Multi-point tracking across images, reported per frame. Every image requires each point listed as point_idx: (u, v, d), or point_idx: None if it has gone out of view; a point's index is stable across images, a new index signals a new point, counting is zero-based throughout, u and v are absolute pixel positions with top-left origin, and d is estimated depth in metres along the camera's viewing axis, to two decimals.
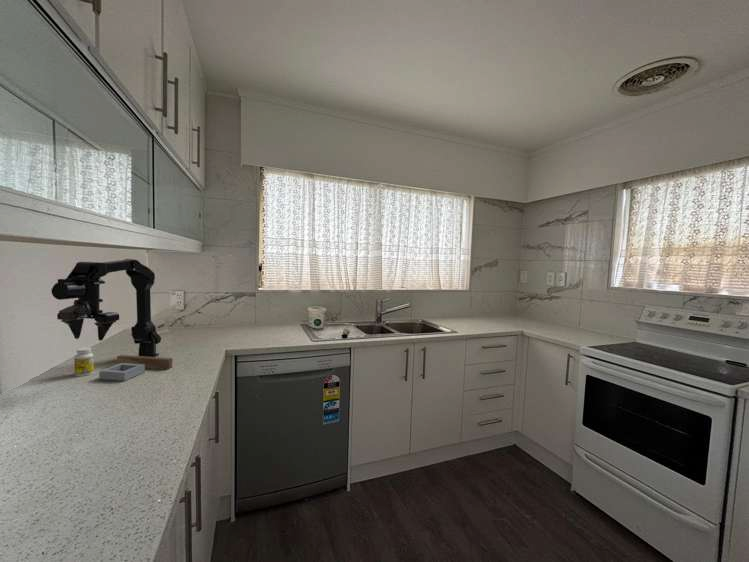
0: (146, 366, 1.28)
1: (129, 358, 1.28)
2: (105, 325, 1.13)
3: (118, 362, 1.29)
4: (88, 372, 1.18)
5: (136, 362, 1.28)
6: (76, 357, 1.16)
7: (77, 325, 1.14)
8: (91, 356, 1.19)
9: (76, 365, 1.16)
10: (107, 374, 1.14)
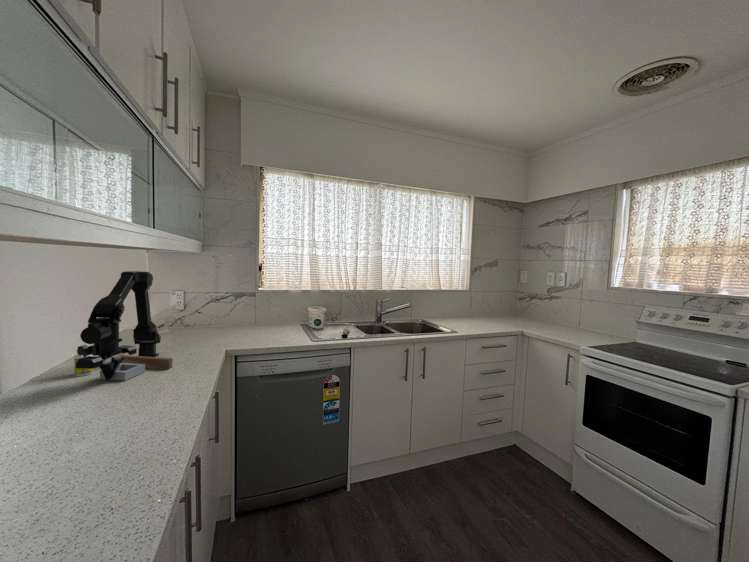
0: (146, 366, 1.28)
1: (129, 358, 1.28)
2: (106, 365, 1.11)
3: None
4: (88, 372, 1.18)
5: (136, 362, 1.28)
6: (76, 357, 1.16)
7: None
8: None
9: None
10: None
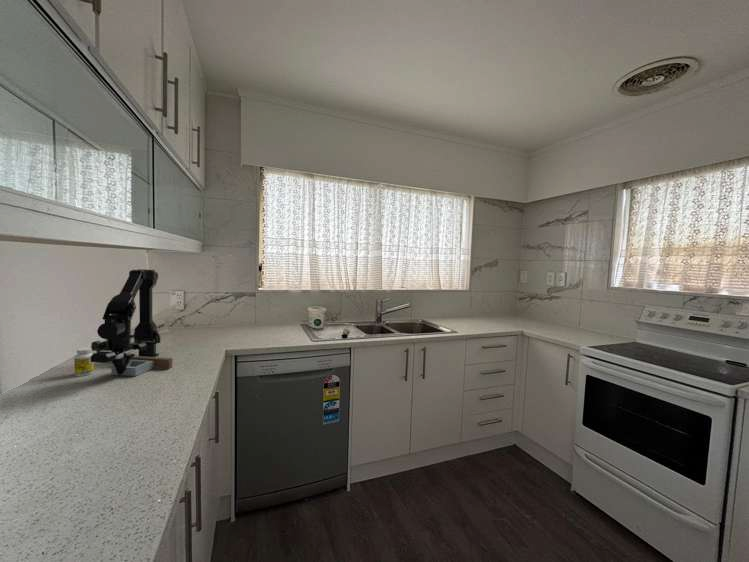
0: None
1: None
2: (118, 360, 1.16)
3: None
4: (88, 372, 1.18)
5: None
6: (76, 357, 1.16)
7: None
8: None
9: (76, 365, 1.16)
10: None
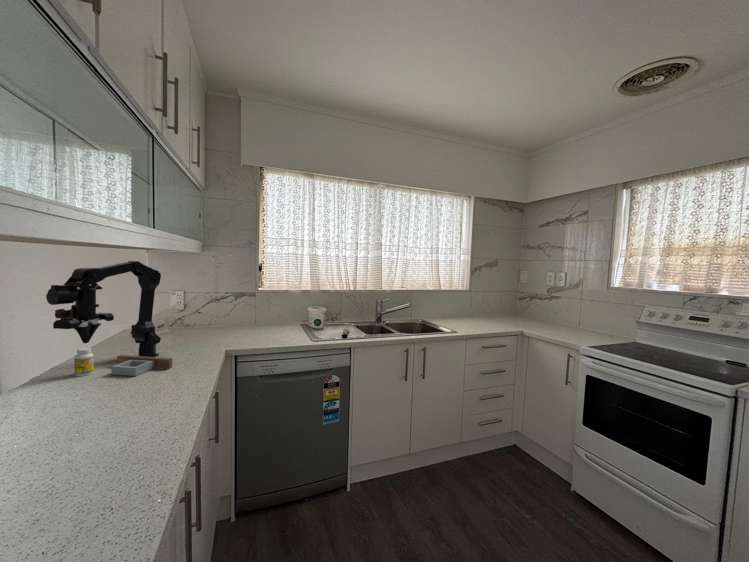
0: None
1: (129, 358, 1.28)
2: (83, 329, 1.16)
3: (118, 362, 1.29)
4: (88, 372, 1.18)
5: None
6: (76, 357, 1.16)
7: None
8: (91, 356, 1.19)
9: (76, 365, 1.16)
10: (118, 370, 1.19)
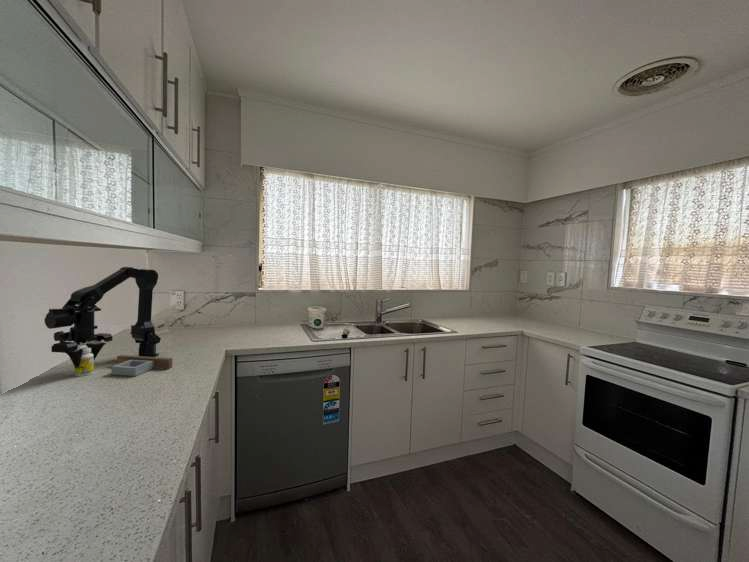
0: None
1: (129, 358, 1.28)
2: (74, 353, 1.14)
3: (118, 362, 1.29)
4: (88, 372, 1.18)
5: None
6: None
7: (92, 350, 1.22)
8: (91, 356, 1.19)
9: None
10: (118, 370, 1.19)
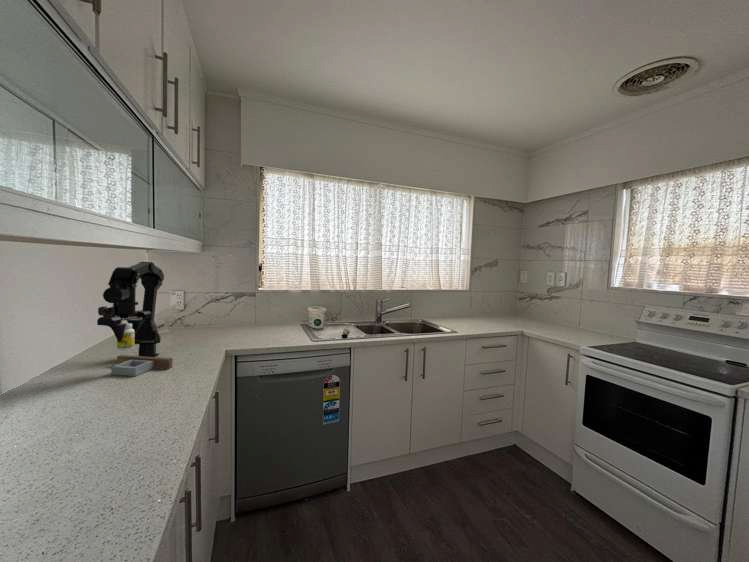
0: None
1: (129, 358, 1.28)
2: (118, 327, 1.18)
3: (118, 362, 1.29)
4: (130, 346, 1.21)
5: None
6: None
7: (133, 325, 1.25)
8: (132, 331, 1.22)
9: None
10: (118, 370, 1.19)
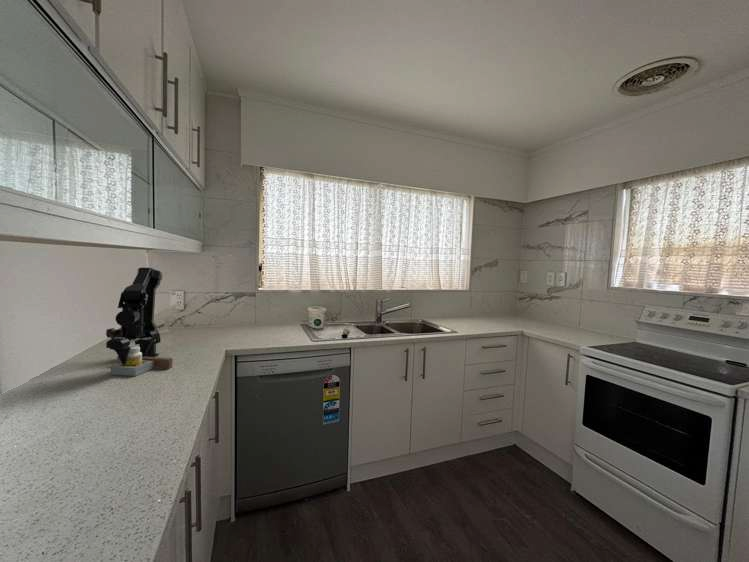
0: None
1: None
2: (122, 350, 1.17)
3: (118, 362, 1.29)
4: None
5: None
6: None
7: (144, 345, 1.28)
8: (140, 354, 1.24)
9: (127, 363, 1.21)
10: (118, 370, 1.19)
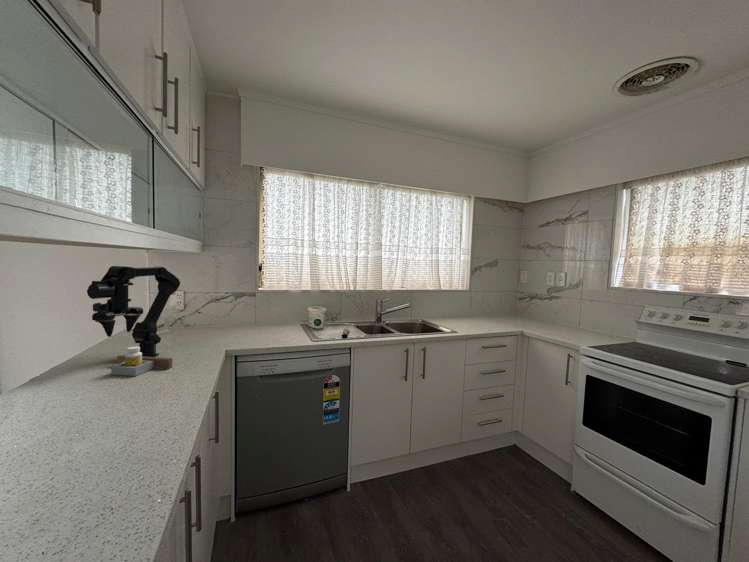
0: None
1: None
2: (108, 323, 1.23)
3: (118, 362, 1.29)
4: None
5: None
6: (127, 355, 1.21)
7: (129, 320, 1.34)
8: (140, 354, 1.24)
9: (127, 363, 1.21)
10: (118, 370, 1.19)
